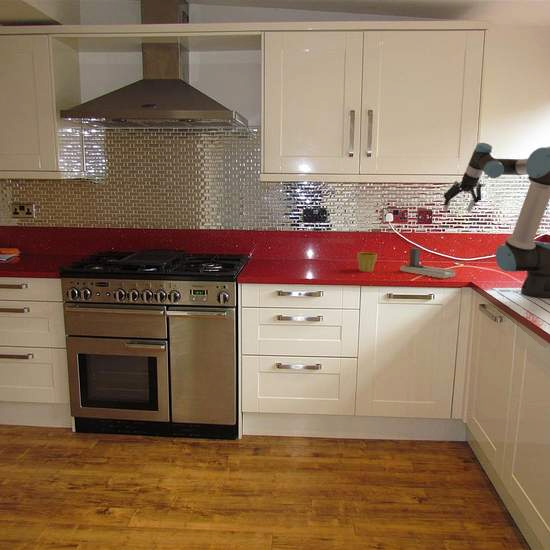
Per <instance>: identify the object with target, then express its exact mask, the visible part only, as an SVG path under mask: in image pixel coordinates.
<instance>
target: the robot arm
mask: <svg viewBox="0 0 550 550" xmlns="http://www.w3.org/2000/svg"><path fill="white" fill-rule="evenodd" d="M492 153H493V146H492V145H491V144H489V143H487V142H479V143H477V145H475V148H474V150H473V153H472V155H471V157H470V160H469V162H468V165H467V167H466V169H465V171H464V174H463V176H462V179H461V181H460V182H459V181H457V180H455V182H454V183H453V185H452V186H450V188H449V189H448V190H447V191H446V192H445V193H444V194H443V197H442V198H444V199H445V200H444V202H443V205H444V206H443V207H442V210H443V211H444V212H445V213H447V211H448V209H449V206H450V204H451V202H452V199H453V198H454V197H456V196H458V195H459V194H460V193H462V192H463V193H464V192H465V193H466V192H468V193H470V195H471V196H472V198H471V199H470V201H469V204H468V205H467V208H466V211H467V212H468V213H470V214H471V211H472V210H473V207H475V205H476V203H478V202H481V201H482V183H481V182H479V181H480V178H481V176H482V174H483V173H484V174H485V175H486V176H487V177H489V178H490V179H497V178H499V177H501V176H502V175H506V176H508V175H509V176H510V175H511V176H524V175H528V178H527V179H528V181H529V183H530V184H529V187H528V190H527V193H526V194H525V195H526V196H525V198H524V201H523V204H522V207H521V209H520V211H519V212H520V213H519V214H518V218H517V221H516V223H515V226H514V229H513V232H512V234H511V235H510V236H507V237H506V239H505V242H504V243H502V244H499V245H498V246H497V247H496V250H495V260H496V264H497V266H498V268H499V269H500V270H502V271H504V272H510V273H515V272H526V277H525V279H524V281H523V283H522V285H521V287H520V288H521V290H520V293H521V294H523V295H526V296H530V297H537V298H550V242H544V241H543V242H542V241H538V240H537V241H536V240H535V239H536V238H535V237H536V236H537V233H538V231H539V227H540V225H541V222H542V219H543V217H544V214H545V212H546V209H547V207H548V205H549V202H550V146H542V147H539V148H536V149H535V150H533V151H532V152H531V153H530V154H529V156H528V157H518V158H515V157H514V158H513V157H511V158H510V157H509V158H507V157H506V158H505V157H495V156H494V155H493V154H492ZM475 189H476V190H475ZM475 192H476V193H475Z"/></svg>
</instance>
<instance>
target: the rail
mask: <svg viewBox="0 0 550 550" xmlns="http://www.w3.org/2000/svg"><path fill="white" fill-rule="evenodd" d="M399 269H400V271H401V272H406V273H410V274H411V273H412V274H416V275H420V274H421V275H422V276H425V275H427V276H426V277H431V276H432V277H431V278H438V279H449V277H450V278H454V276H455V277H456V269H448V268H441V267H433V266H427V265H423V268H414V267H407V266H406V265H400V268H399Z"/></svg>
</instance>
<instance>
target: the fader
mask: <svg viewBox="0 0 550 550" xmlns="http://www.w3.org/2000/svg"><path fill="white" fill-rule="evenodd" d="M409 248H410V249H409V262H408V263H409V264H405V266H407V267H414V268H423V266H424V265H422V264H420V258H421V248H419V247H409Z"/></svg>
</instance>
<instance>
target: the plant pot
mask: <svg viewBox="0 0 550 550" xmlns="http://www.w3.org/2000/svg"><path fill="white" fill-rule="evenodd" d="M377 258H378V254H377V253H374V252H369V251H361V252H357V253H356V260H357V263H358V268H359V269H358V271H360V272H364V273H365V272H366V273H368V272H370V273H371V272H373V270H374V266H375V263H376V261H378V260H377Z"/></svg>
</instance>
